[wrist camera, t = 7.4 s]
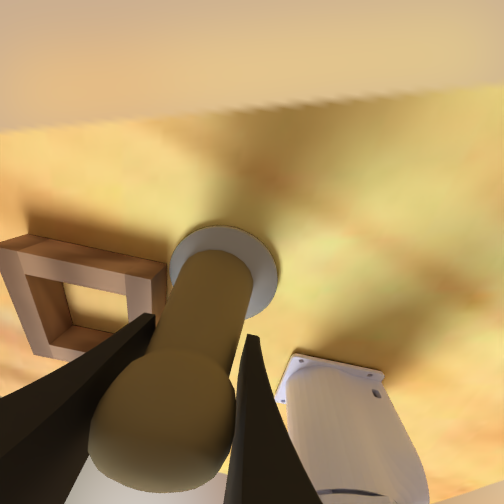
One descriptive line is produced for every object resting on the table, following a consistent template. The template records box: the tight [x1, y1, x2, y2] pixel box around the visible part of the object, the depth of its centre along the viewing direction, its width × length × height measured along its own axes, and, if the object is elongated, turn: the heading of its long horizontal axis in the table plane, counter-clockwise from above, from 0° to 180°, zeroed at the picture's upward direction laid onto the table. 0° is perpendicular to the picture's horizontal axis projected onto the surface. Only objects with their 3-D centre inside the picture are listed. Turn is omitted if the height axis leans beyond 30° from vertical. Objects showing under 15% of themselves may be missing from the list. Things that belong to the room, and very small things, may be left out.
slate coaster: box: [169, 225, 278, 319], centre depth 17 cm, size 9×9×1 cm
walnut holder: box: [0, 234, 167, 362], centre depth 18 cm, size 12×12×2 cm
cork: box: [88, 250, 253, 493], centre depth 11 cm, size 6×6×11 cm
